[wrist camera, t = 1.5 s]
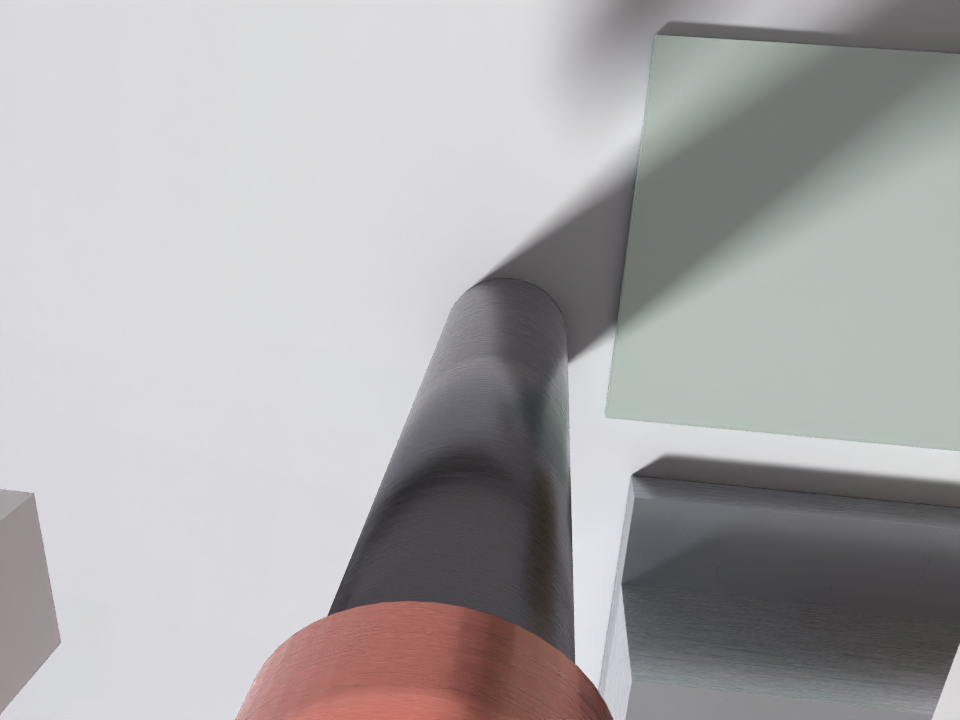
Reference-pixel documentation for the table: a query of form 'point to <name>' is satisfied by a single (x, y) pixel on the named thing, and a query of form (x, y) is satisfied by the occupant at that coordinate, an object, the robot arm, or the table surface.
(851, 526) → the grey hollow block
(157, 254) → the table surface
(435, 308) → the table surface
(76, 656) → the table surface
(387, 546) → the red capped rod
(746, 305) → the mat
